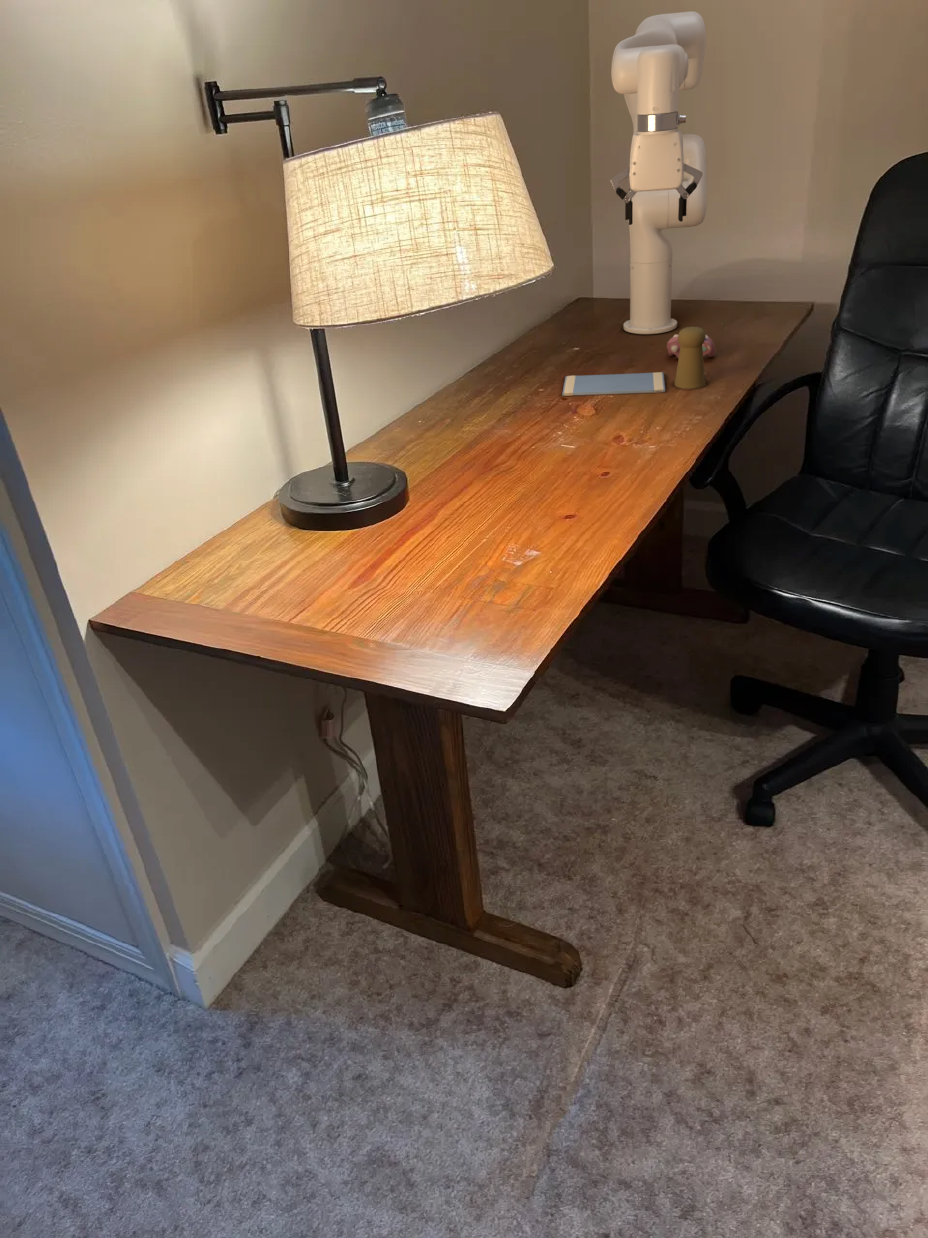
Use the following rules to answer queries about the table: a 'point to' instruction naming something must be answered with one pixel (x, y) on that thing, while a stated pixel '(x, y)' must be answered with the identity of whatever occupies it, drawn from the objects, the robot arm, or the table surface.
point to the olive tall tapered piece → (690, 359)
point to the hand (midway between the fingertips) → (655, 221)
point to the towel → (614, 384)
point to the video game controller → (674, 346)
